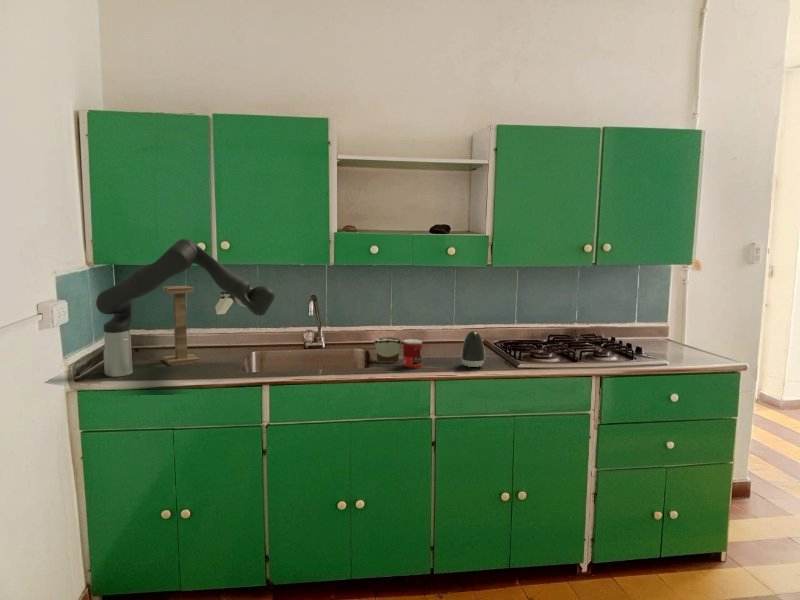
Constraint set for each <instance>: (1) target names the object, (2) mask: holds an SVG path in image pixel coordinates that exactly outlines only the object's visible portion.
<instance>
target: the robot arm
mask: <svg viewBox="0 0 800 600" xmlns="http://www.w3.org/2000/svg"><path fill="white" fill-rule="evenodd" d="M193 264H195V265H197V266H199V267H201V268H203V269H204V270H205V271H206V272H207V273H208V274H209V275H210V277H211V279H212V280H213V281H214V283H215V285H217V286H218V288H220V289H221V291H220V299H224V298H225V297H228V298H230V299H232V300H233V303H235V305H238V306H242V307H246V308H247V310H249V311H250V312H251V313H252V314H253V315H255V316H258V317H263V316H264V315H265V314H266V313H267V312H268V310H269V308H270V307H271V306H272V303H273V302H274V300H275V299H276V297H275V296H276V295H275V292H274V290H272V289H271V287H267V286H264V285H259V286H256V287H253V288H252V287H251V283H250V282H249V281H248V280H246V279H244V278H243V277H241V276H239V275H238V274H236V273H234V272H232V271H231V270H230V269H228V268H227V267H226V266H224V265H222V264H221V263H220V262H218V261H217V260H216V259H215V258H214V257H213V256H211V255H210V254H209V253H208V252H207V251H205V250H204V249H203V248H202V247H201V246H199V245H197V244H196V243H195V242H194V241H192V240H190V239H187V238H182V239H181V238H180V239H178V240H177V241H175V243H173V244H172V245H171V246H170V247H169V248H168V249H167V250H166V251H165V252H164V253H163V254H161V256H160V257H159V258H158V259H156V260H155V261H154V262H152V263H148V264H145V265H143V266H141V267H138V269H137V270H134V271H133V272H132V273H131V274H130V275H128V276H127V277H125V278H124V279H122V280H121V281H120V282H119V283H117V284H115V285H113V286H111V287H109V288H107V289H105V290H103V291H101V292H100V293H99V294H98V295H97V297H96V302H95V306H96V309H97V310H98V311H99V312H100V313H101V314H103V315H113V317H112V318H111V319H110V320H108V321H107V322H105V323H104V325H103V337H104V338H103V339H104V340H103V341H104V349H103V366H104V367H103V368H104V375H106V376H107V377H113V378H114V377H118V378H119V377H124V376H129V375H131V374H133V357H132V337H131V326H132V325H131V324H132V320H133V319H132V318H133V316H132V315H133V313H132V312H133V310H132V308H133V305H132V304H133V303H132V300H135V299H137V298H141V297H144V296H146V295H148V294H150V293H152V292H153V291H154V290H157V288H159V287H161V286H162V284H164V283H165V282H166V281H167V280H169V279H170V278H172V277H175V276H176V275H178V274H181V273H183V272H185V271H187V270H188V269H190V268H191V267H192V266H193Z"/></svg>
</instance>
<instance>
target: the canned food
mask: <svg viewBox="0 0 800 600" xmlns="http://www.w3.org/2000/svg"><path fill="white" fill-rule="evenodd" d="M402 347H403V350H402V351H403V354H402V357H403V358H402V359H403V360H402V364H403V367H404V368H406V367H409V368H408V369H413V368H414V369H419V368H418V367H420V368H422V365H423V340H421V339H416V338H409V339H408V338H407V339H404V340H403V343H402Z"/></svg>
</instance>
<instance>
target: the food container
mask: <svg viewBox="0 0 800 600" xmlns="http://www.w3.org/2000/svg"><path fill="white" fill-rule="evenodd" d="M373 344H374V346H375V356H376V362H377V363H399V361H400V352H401V345H403V342H402V339H401V338H400V337H393V336H382V337H377V338H375V339H374V341H373Z"/></svg>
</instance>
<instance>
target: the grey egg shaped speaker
mask: <svg viewBox="0 0 800 600" xmlns="http://www.w3.org/2000/svg"><path fill="white" fill-rule="evenodd" d="M460 358H461V362H462V365H463V366H465V367H466V366H468V367H467V368H469V367H478V368H480V367H481V366H483V364H484V362H485V360H486V351H485V345H484V342H483V339H482V336H481V334H479V332H477V331H474V330H473V331H470V332H468V333H467V334H466V336H465V338H464V341H463V344H462V347H461V353H460ZM479 366H480V367H479Z"/></svg>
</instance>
